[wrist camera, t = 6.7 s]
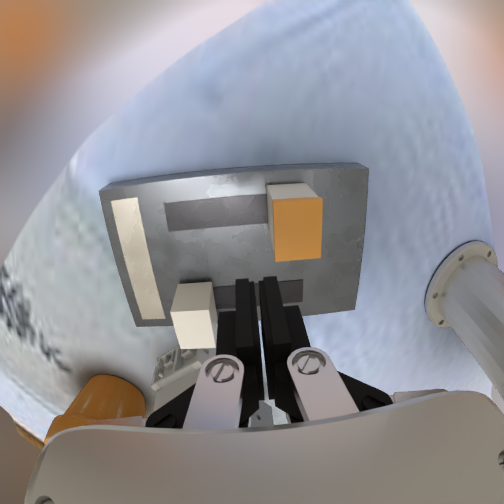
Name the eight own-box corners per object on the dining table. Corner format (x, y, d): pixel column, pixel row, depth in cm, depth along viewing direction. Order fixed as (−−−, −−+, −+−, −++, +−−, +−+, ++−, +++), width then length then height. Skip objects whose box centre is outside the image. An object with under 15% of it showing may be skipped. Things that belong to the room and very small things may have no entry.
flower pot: (88, 410, 39) (69, 473, 28) (60, 352, 33) (25, 425, 21) (168, 423, 40) (159, 493, 29) (154, 367, 34) (135, 456, 23)
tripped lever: (306, 182, 22) (322, 199, 18) (306, 231, 24) (320, 258, 20) (265, 184, 22) (273, 202, 18) (268, 234, 24) (275, 262, 20)
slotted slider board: (357, 162, 25) (369, 168, 22) (347, 295, 31) (355, 310, 28) (109, 183, 24) (98, 191, 22) (142, 311, 30) (136, 327, 28)
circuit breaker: (232, 409, 39) (235, 502, 26) (157, 357, 34) (134, 467, 20) (275, 390, 37) (290, 489, 24) (201, 330, 32) (190, 454, 18)
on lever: (211, 281, 26) (208, 309, 22) (217, 318, 27) (215, 347, 24) (177, 284, 26) (170, 311, 22) (186, 319, 27) (180, 349, 24)
